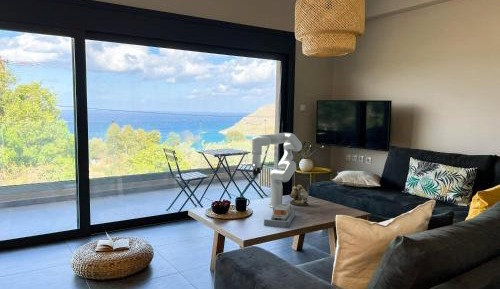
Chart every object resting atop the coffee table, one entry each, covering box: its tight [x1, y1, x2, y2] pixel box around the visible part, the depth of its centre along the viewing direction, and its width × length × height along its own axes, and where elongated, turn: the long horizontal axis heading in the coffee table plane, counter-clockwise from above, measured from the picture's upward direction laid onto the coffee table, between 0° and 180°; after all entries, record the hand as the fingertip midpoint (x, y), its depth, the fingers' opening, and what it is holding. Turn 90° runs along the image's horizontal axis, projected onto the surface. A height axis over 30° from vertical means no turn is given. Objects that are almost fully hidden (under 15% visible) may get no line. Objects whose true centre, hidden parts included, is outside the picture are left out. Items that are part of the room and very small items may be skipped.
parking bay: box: [263, 208, 296, 229], centre depth 273 cm, size 32×17×4 cm, turn 165°
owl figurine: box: [288, 184, 309, 207], centre depth 318 cm, size 18×12×17 cm, turn 55°
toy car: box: [270, 203, 293, 221], centre depth 272 cm, size 11×25×10 cm, turn 161°
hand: (256, 174), depth 290 cm, fingers open, 9 cm apart
